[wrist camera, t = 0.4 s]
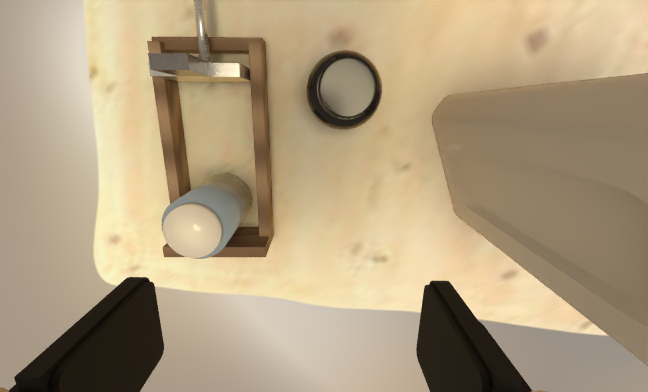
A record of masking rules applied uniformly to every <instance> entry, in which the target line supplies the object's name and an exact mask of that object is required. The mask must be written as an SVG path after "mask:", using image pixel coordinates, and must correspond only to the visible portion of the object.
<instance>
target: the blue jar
mask: <svg viewBox="0 0 648 392" xmlns="http://www.w3.org/2000/svg"><path fill="white" fill-rule="evenodd" d="M251 206H252V194H251V191H250V189H249V187H248V185H247V184H246V183H245V182H244V181H243V180H242V179H240V178H239V177H237V176H234V175H231V174H219V175H216V176H214V177H212V178H210V179H209V180H207V181H205V182H204V183H202V184H201V185H199V186H197V187H196V188H194V189H193V190H191V191H190V192H188V193H186V194H185V195H183V196H182V197H180V198H178V199H177V200H175V201H174V202H172V203H171V204H170V205H169V206H168V207H167V209H166V210H165V212H164V214H163V218H162V230H163V234H164V237H165V240H166V242H167V243H168V245H169V246H170V247H171V248H172V249H173V250H174V251H175V252H177V253H178V254H180V255H182V256H185V257H189V258H196V259H203V258H208V257H212V256H214V255H216V254H217V253H219V252H220V251H221V250H222V249H223V248H224V247H225V245H226V244H227V243H228V241H229V240H230V238H231V237H232V235H233V234H234V232H235V231H236V230H237V228H238V227H239V225H240V224H241V222H242V221H243V220H244V218H245V217H246V215H247V214H248V212H249V211H250V209H251Z"/></svg>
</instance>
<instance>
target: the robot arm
mask: <svg viewBox="0 0 648 392" xmlns="http://www.w3.org/2000/svg"><path fill="white" fill-rule="evenodd" d="M163 351H164V343H163V337H162V331H161V324H160V318H159V312H158V305H157V299H156V293H155V286H154V283H153V282H150V281H149V279H148V278H146V277H129V278H127V279H125V280H124V281H123V282H122V283H121V284H120V285H118V286H117V287H116V288H115V289H114V290H113V291H112V292H111V293H109V294H108V295H107V296H106V297H105V298H104V299H103V300H101V301H100V302H99V303H98V304H97V305H96V306H95V307H93V308H92V309H91V310H90V311H89V312H88V313H87V314H86V315H84V316H83V317H82V318H81V319H80V320H79V321H78V322H76V323H75V324H74V325H73V326H72V327H71V328H70V329H68V330H67V331H66V332H65V333H64V334H63V335H62V336H61V337H60V338H58V339H57V340H56V341H55V342H54V343H53V344H51V345H50V346H49V348H47V349H46V350H45V351H44V352H42V353H41V354H40V355H39V356H38V357H37V358H36V359H35V360H33V361H32V362H31V363H30V364H29V365H28V366H27V367H26V368H24V369H23V370H22V371H21V372H20V373H19V374H17V375H16V376H15V381H16V385H15V386H14V387H13V388H11V389H10V390H9V391H8V390H6V389H5V388H0V392H140V390H141V389H142V387H143V386H144V384H145V382H146V381H147V379H148V378H149V376H150V375H151V373H152V371H153V370H154V368H155V367H156V365H157V363H158V362H159V360H160V359H161V357H162V355H163ZM417 357H418V361H419V364H420V366H421V369H422V371H423V374H424V377H425V379H426V382H427V384H428V387H429V390H430V392H546V391H532V390H531V389H530V387H529V386H528V384H527V383H526V382H525V380H524V379H523V378H522V376H521V375H520V374H519V372H518V371H517V370H516V368H515V367H514V366H513V364H512V363H511V362H510V360H509V359H508V358H507V356H506V355H505V353H504V352H503V351H502V349H501V348H500V347H499V346H498V344H497V343H496V341H495V340H494V339H493V338H492V336H491V335H490V334H489V332H488V331H487V329H486V328H485V327H484V325H482V324H481V323H480V322H479V321H478V320H477V319H476V317H475V316H474V315H473V313H472V312H471V310H470V309H469V308H468V306H467V305H466V304H465V302H464V301H463V300H462V298H461V297H460V296H459V294H458V293H457V291H456V290H455V289H454V287H453V286H452V285H451V283H450V282H449V281H431V282H430V284H429V285H426V286H425V288H424V294H423V302H422V310H421V318H420V325H419V333H418V340H417Z"/></svg>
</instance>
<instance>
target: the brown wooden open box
mask: <svg viewBox="0 0 648 392" xmlns="http://www.w3.org/2000/svg"><path fill="white" fill-rule="evenodd" d="M147 42H148V49H149V53H199V48H198V38H197V37H152V41H147ZM208 42H209V53H237V54H249V61H250V79H251V96H252V114H253V131H254V148H255V166H256V183H257V201H258V218H259V227H238V228H237V230H236V231H235V232H234V234H233V235H232V237H231V238H230V240H229V241H228V243H227V244H226V245H225V247H224V248H223V249H222V250H221V251H220V252H219V253H217V254H216V255H214V256H212V257H266V255H267V252H268V249H269V247H270V244H271V241H272V239H273V236H274V234H273V211H272V188H271V165H270V142H269V119H268V95H267V72H266V49H265V41H264V40H263V39H262V38H225V37H208ZM152 78H153V85H154V92H155V99H156V106H157V113H158V120H159V127H160V134H161V141H162V148H163V155H164V162H165V169H166V176H167V183H168V190H169V197H170V204H171V203H172V202H174V201H175V200H177V199H178V198H180V197H182V196H183V195H185V194H186V193H188V192H190V191H191V190H190V182H189V174H188V165H187V157H186V149H185V141H184V132H183V124H182V116H181V108H180V99H179V91H178V83H177V81H174V80H169V79H163V78H158V77H153V76H152ZM163 253H164V257H185V256H182V255H180V254H178V253H177V252H175V251H174V250H173V249H172V248H171V247H170V246H169V245H168V243H167V244H166V245H165V246H163Z"/></svg>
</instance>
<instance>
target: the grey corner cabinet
mask: <svg viewBox="0 0 648 392" xmlns="http://www.w3.org/2000/svg"><path fill="white" fill-rule="evenodd" d="M432 124H433V128H434V132H435V136H436V140H437V144H438V148H439V152H440V156H441V160H442V164H443V168H444V172H445V176H446V180H447V184H448V188H449V192H450V196H451V200H452V204H453V208H454V212H455V214H456V215H457V216H458V217H459V218H461V219H462V220H463V221H464V222H466V223H467V224H468V225H469V226H471V227H472V228H473V229H474V230H476V231H477V232H478V233H480V234H481V235H482V236H483V237H485V238H486V239H487V240H488V241H490V242H491V243H492V244H493V245H495V246H496V247H497V248H499V249H500V250H501V251H502V252H504V253H505V254H506V255H507V256H509V257H510V258H511V259H513V260H514V261H515V262H516V263H518V264H519V265H520V266H521V267H523V268H524V269H525V270H526V271H528V272H529V273H530V274H532V275H533V276H534V277H535V278H537V279H538V280H539V281H540V282H542V283H543V284H544V285H546V286H547V287H548V288H549V289H551V290H552V291H553V292H554V293H556V294H557V295H558V296H559V297H561V298H562V299H563V300H565V301H566V302H567V303H568V304H570V305H571V306H572V307H573V308H575V309H576V310H577V311H579V312H580V313H581V314H582V315H584V316H585V317H586V318H587V319H589V320H590V321H591V322H592V323H594V324H595V325H596V326H598V327H599V328H600V329H601V330H603V331H604V332H605V333H606V334H608V335H609V336H610V337H612V338H613V339H614V340H615V341H617V342H618V343H619V344H620V345H622V346H623V347H624V348H626V349H627V350H628V351H629V352H631V353H632V354H633V355H635V356H636V357H637V358H638V359H639V360H641V361H642V362H643V363H644V364H646V365H647V366H648V73H645V74H636V75H626V76H617V77H608V78H599V79H589V80H580V81H571V82H561V83H552V84H543V85H535V86H526V87H517V88H508V89H499V90H491V91H482V92H473V93H464V94H456V95H450V96H447V97H446V98H444V99H443V100H442V102H441V103H440V105H439V106H438V107H437V109H436V110H435V112H434V114H433V116H432Z"/></svg>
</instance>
